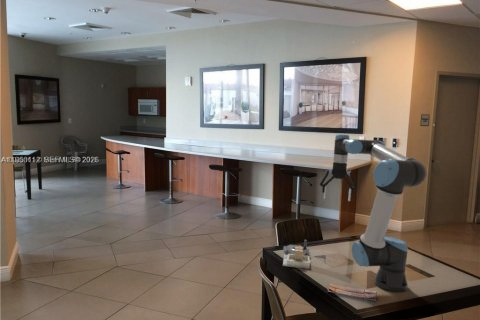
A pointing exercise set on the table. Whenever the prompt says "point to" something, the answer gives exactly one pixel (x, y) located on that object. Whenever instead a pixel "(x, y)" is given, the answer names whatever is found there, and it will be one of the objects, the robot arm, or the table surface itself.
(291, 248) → the sprocket
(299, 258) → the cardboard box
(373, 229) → the robot arm
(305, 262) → the base plate
